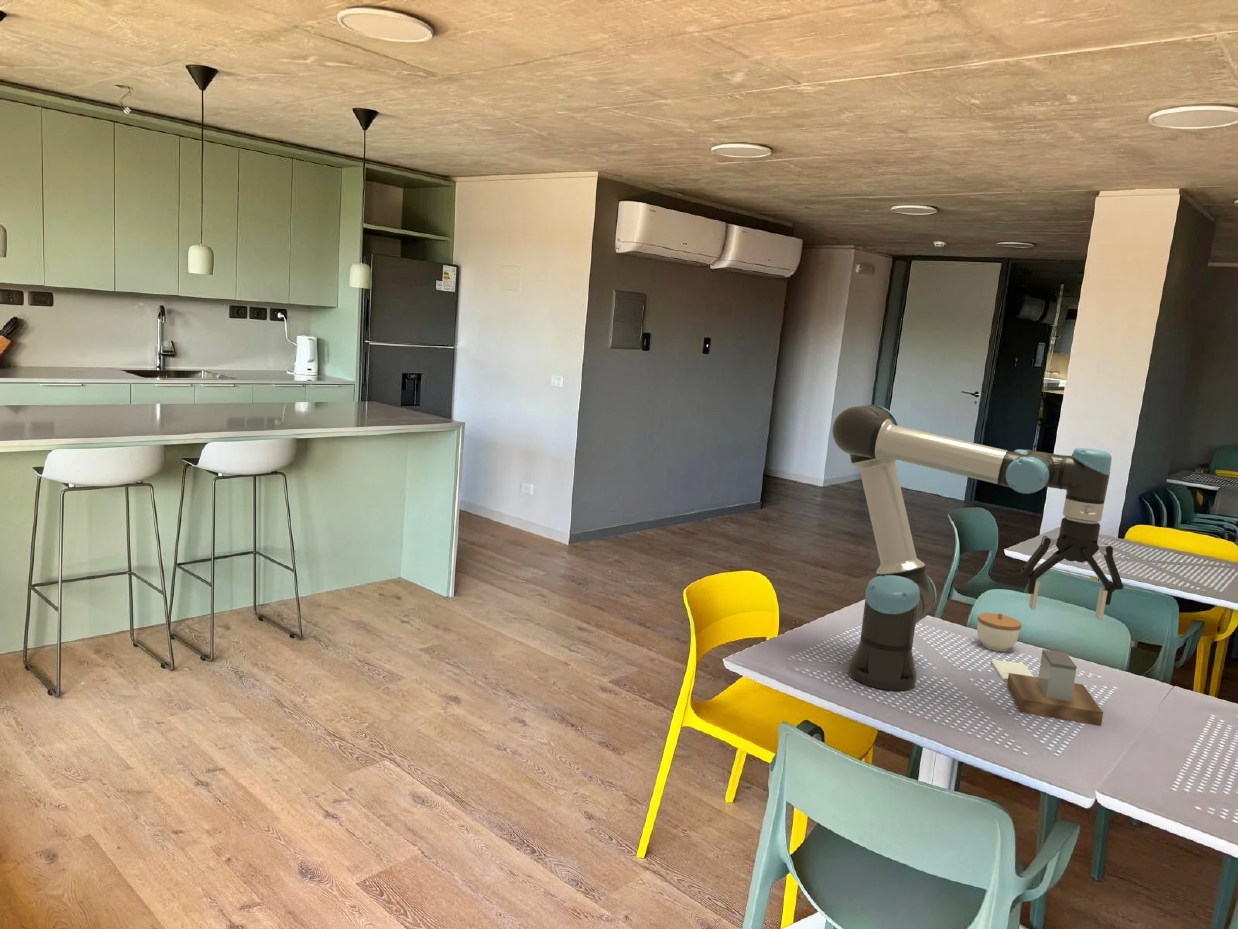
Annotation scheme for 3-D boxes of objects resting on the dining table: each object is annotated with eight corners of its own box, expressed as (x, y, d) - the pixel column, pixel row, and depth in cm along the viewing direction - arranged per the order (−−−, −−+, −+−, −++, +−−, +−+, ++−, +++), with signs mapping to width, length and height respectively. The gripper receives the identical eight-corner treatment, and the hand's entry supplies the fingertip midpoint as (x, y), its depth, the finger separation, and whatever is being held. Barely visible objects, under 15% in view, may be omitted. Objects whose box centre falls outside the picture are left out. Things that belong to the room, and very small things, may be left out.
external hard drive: (1024, 670, 215) (1038, 689, 203) (989, 665, 216) (1002, 684, 204) (1025, 663, 214) (1039, 682, 202) (990, 659, 216) (1003, 677, 204)
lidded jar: (965, 641, 231) (970, 608, 230) (993, 638, 235) (998, 605, 234) (997, 656, 221) (1002, 621, 220) (1026, 652, 226) (1031, 618, 225)
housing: (1046, 697, 188) (1051, 663, 187) (1037, 682, 197) (1042, 649, 196) (1070, 701, 187) (1076, 667, 186) (1061, 686, 196) (1066, 653, 194)
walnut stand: (1020, 712, 187) (1022, 699, 186) (1007, 685, 202) (1008, 672, 202) (1100, 725, 183) (1103, 712, 182) (1080, 696, 198) (1082, 684, 198)
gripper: (1023, 515, 185) (1008, 608, 189) (1150, 531, 180) (1132, 627, 183) (1016, 508, 193) (1001, 599, 196) (1138, 524, 187) (1121, 616, 190)
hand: (1065, 613), depth 189 cm, fingers open, 13 cm apart
